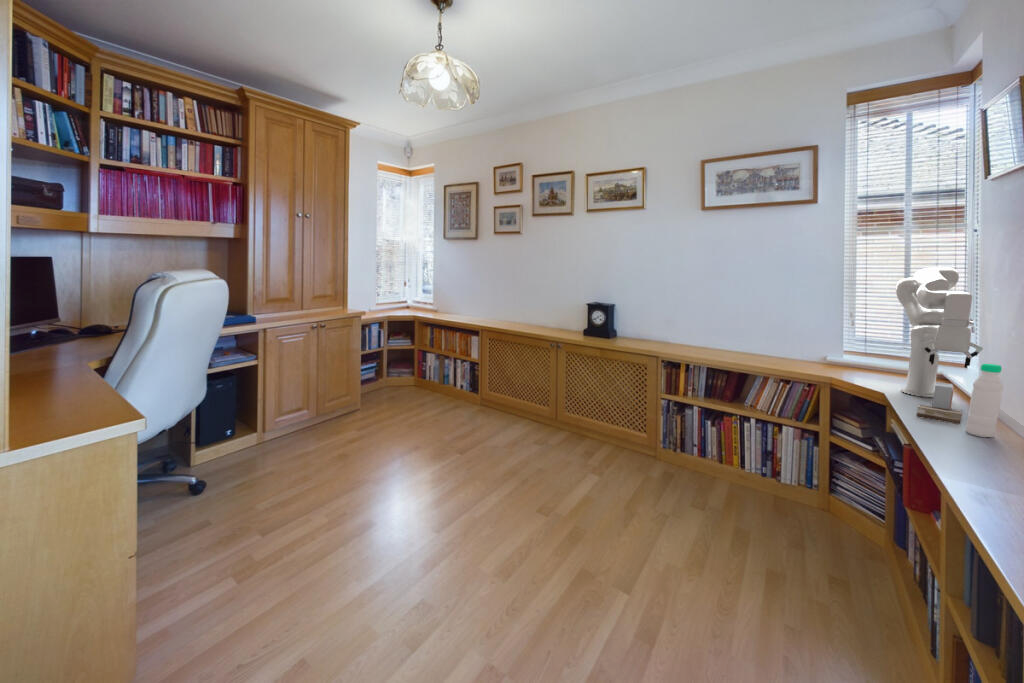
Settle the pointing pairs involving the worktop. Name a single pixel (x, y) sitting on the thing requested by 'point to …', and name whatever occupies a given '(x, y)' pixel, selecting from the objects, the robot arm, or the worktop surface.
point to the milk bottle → (985, 402)
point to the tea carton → (943, 395)
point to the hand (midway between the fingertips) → (948, 365)
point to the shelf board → (939, 414)
